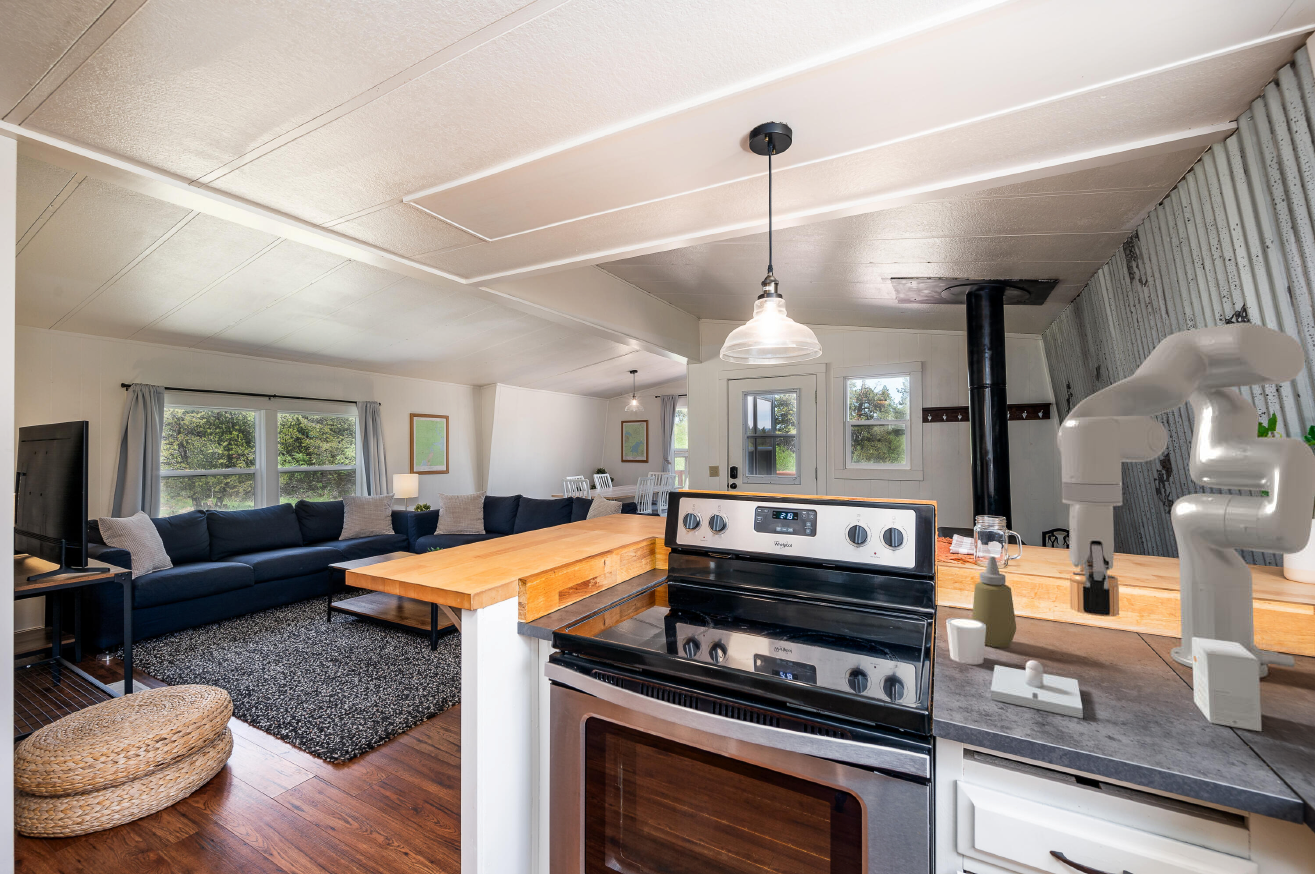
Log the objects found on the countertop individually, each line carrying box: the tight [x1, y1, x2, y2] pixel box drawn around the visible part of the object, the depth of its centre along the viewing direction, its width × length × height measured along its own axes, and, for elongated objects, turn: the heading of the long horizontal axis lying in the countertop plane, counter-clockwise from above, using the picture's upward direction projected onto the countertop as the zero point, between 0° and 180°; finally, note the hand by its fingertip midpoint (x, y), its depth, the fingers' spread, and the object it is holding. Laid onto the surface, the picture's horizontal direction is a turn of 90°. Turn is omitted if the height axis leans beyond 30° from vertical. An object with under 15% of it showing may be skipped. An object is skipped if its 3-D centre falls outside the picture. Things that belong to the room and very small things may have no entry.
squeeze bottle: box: [971, 555, 1017, 648], centre depth 116 cm, size 8×8×18 cm
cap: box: [1069, 571, 1120, 617], centre depth 88 cm, size 6×6×6 cm
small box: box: [1192, 637, 1263, 732], centre depth 84 cm, size 8×6×10 cm
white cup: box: [945, 617, 986, 665], centre depth 108 cm, size 7×7×7 cm
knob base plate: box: [990, 660, 1084, 719], centre depth 93 cm, size 12×12×6 cm
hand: (1093, 606), depth 88 cm, fingers closed on cap, 6 cm apart
